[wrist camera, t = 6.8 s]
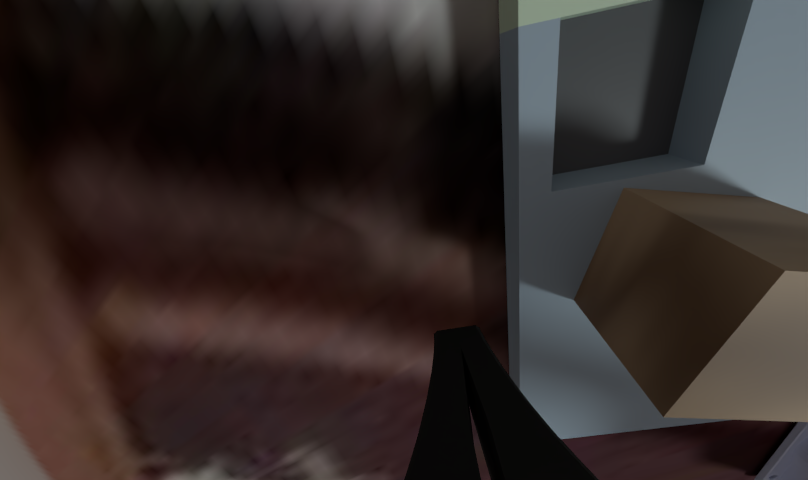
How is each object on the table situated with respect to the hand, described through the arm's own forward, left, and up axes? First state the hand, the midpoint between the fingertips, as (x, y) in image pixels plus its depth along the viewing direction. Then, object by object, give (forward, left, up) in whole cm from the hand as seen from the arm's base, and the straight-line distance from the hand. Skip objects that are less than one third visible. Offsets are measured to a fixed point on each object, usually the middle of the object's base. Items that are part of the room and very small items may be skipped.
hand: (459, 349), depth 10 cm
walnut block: (+1, -7, -2) cm, 8 cm away
